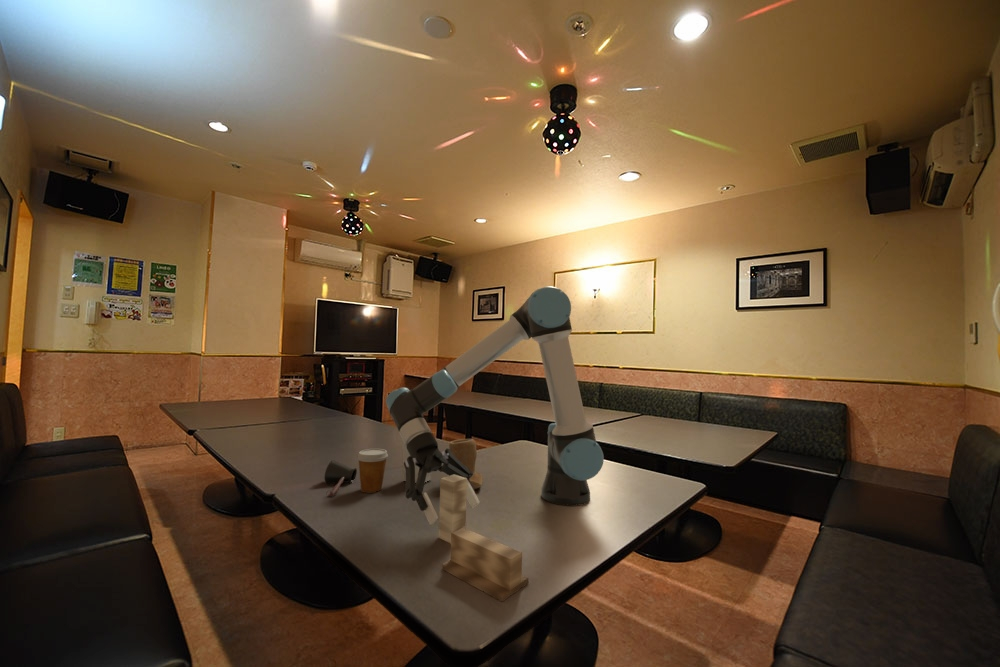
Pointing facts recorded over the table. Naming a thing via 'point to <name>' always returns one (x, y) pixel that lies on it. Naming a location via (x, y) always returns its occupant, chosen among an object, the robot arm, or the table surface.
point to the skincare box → (406, 455)
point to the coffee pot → (338, 475)
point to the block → (452, 505)
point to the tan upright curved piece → (467, 457)
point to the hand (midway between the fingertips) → (456, 513)
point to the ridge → (485, 564)
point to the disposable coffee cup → (372, 469)
